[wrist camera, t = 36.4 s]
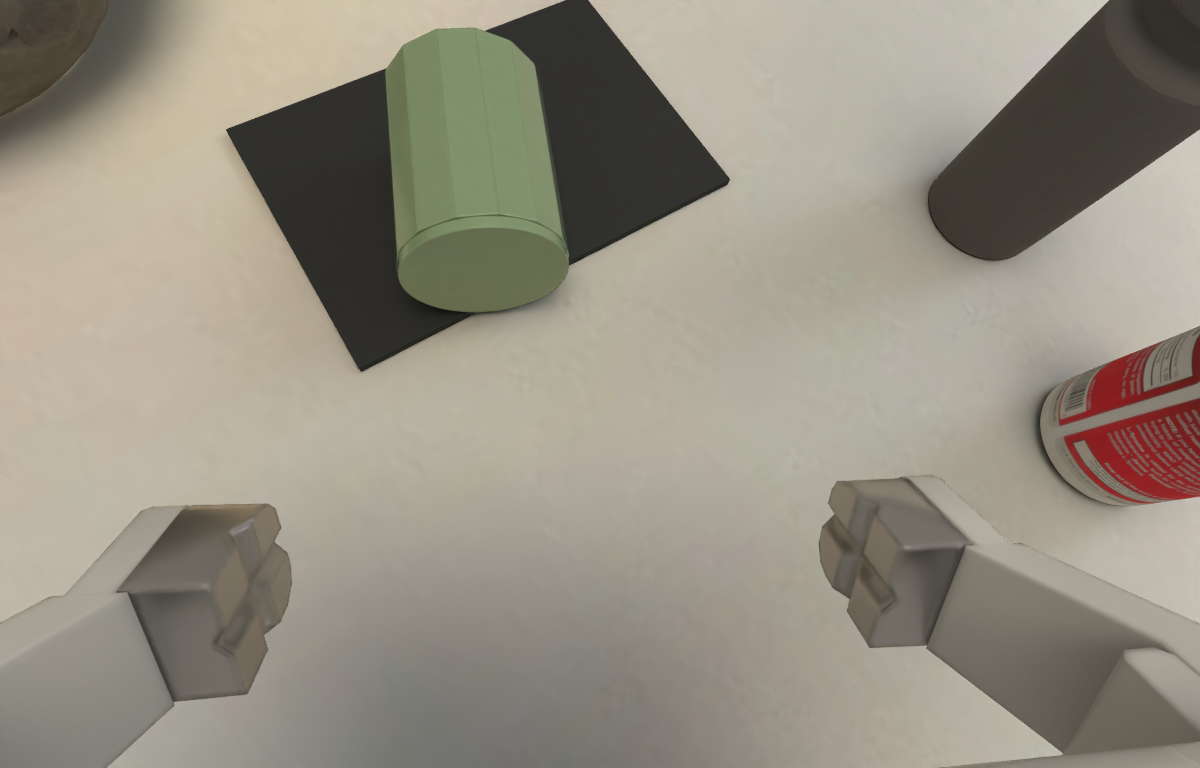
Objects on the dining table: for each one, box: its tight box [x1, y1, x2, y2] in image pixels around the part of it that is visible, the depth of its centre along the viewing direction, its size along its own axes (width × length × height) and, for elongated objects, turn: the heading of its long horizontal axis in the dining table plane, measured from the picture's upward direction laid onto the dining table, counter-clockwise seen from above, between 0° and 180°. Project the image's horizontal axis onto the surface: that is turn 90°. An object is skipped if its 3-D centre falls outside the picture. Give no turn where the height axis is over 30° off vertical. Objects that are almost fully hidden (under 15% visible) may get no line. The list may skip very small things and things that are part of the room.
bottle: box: [929, 0, 1200, 260], centre depth 25 cm, size 6×6×15 cm
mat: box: [226, 0, 730, 371], centre depth 30 cm, size 20×14×1 cm
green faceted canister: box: [385, 28, 569, 312], centre depth 25 cm, size 7×7×9 cm
